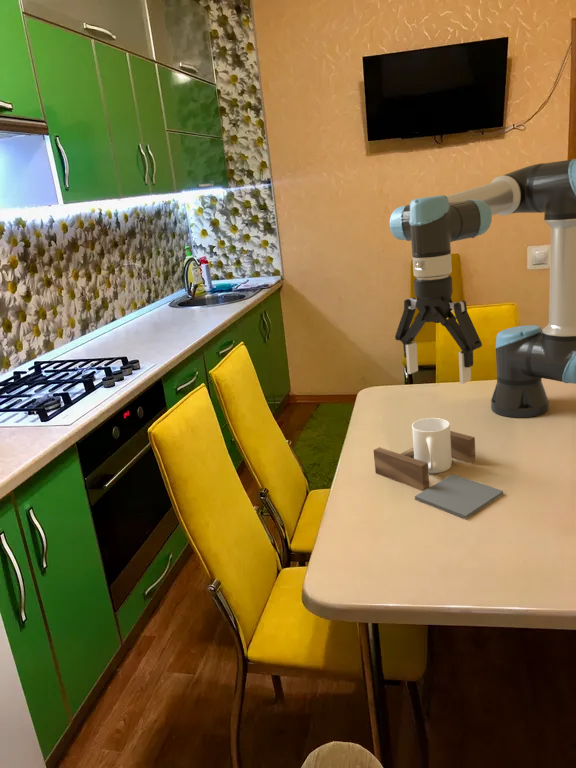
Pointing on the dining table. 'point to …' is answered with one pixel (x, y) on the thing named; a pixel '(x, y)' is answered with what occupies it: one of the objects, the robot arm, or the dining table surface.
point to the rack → (419, 462)
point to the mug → (432, 443)
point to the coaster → (459, 496)
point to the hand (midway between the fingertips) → (438, 376)
